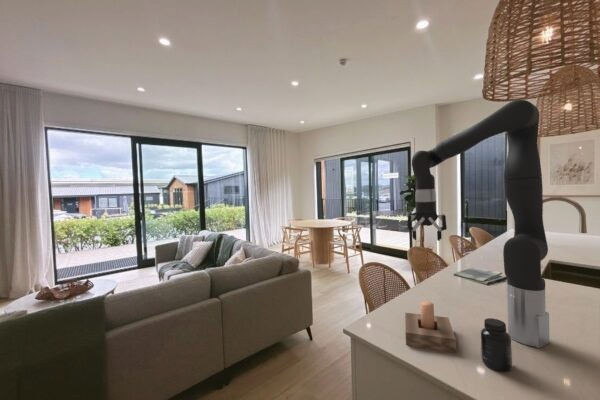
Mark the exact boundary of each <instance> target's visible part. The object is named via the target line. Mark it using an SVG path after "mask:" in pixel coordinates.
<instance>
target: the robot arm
mask: <svg viewBox="0 0 600 400" xmlns="http://www.w3.org/2000/svg"><path fill="white" fill-rule="evenodd" d="M539 124H540V111H539V109H538V107H537V106H536V105H535V104H533V103H532V102H531V101H528V100H525V99H515V100H511V101H509V102H508V103H506V104H505V105H503V106H502V107H500V108H499V109H497V110H495V111H494V112H493V113H491V114H490V115H488V116H486V117H485V118H483V119H482V120H481V121H478V122H477V123H475V124H474V125H472V126H470V127H468V128H466V129H464V130H462V131H460V132H458V133H456V134H455V135H452V136H450V137H448V138H447V139H446V138H445V139H444V140H442V141H440V142H438V143H437V144H436V145H435V147H433V148H431V149H429V150H417V151H416V152H415V153H414V154H413V156H412V158H411V167H412V168H411V169H412V171H413V172H412V173H413V176H414V178H415V196H414V198H415V214H407V230H410V231H412V232H411V234H412V239H413V240H414V241H417V229H418V228H419V227H420V226H432V225H433V227H434V228H435V229H436V240H437V241H441V240H442V231H446V230H447V217H446V214H443V213H442V214H437V194H436V183H435V182H436V180H435V176H434V174H432V173H431V168H434V167H436V166H438V165H440V164H442V163H444V161H446V160H448V159H451V158H454V157H456V156H458V155H460V154H462V153H464V152H467V151H468V150H470V149H472V148H473V147H476V145H478V144H480V143H481V142H483V141H485V140H487V139H490V138H492V137H494V136H497V135H499V134H500V135H501V134H503V133H506V137H507V145H508V147H507V148H508V152H507V157H506V160H505V161H506V162H505V165H504V172H503V183H504V184H503V186H504V194H505V199H506V201H507V204H508V207H509V208H510V210H511V214H512V217H513V222H514V223H513V224H514V230H513V232H514V233H513V237H511V238H508V239H507V240H506V242H505V243H504V245H503V251H502V255H503V270H504V274H505V275H504V276H506V277H507V279H506V288H507V289H506V291H507V294H506V295H507V333H508V334H509V336H510V337H511V340H513V341H516V342H518V343H519V344H523V345H525V346H531V347H535V348H537V349H540V348H543V347H544V346H546V345H548V344H550V313H549V312H548V311H546V309H547V308H546V280H545V278H543V276H542V261H543V260H544V259H546V257H547V256H548V253H549V252H548V251H549V247H548V241H547V237H546V232H545V225H544V219H543V216H544V214H543V213H544V209H543V208H544V202H543V196H544V195H543V175H542V173H543V172H542V167H541V159H540V153H539V146H538V137H539ZM438 218H439V220H440V221H441V225H442V226H439V225H438V224H437V222H436V221H437V220H438ZM414 219H415V220H416V223H414V225H413V226H412V221H413V220H414Z"/></svg>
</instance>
